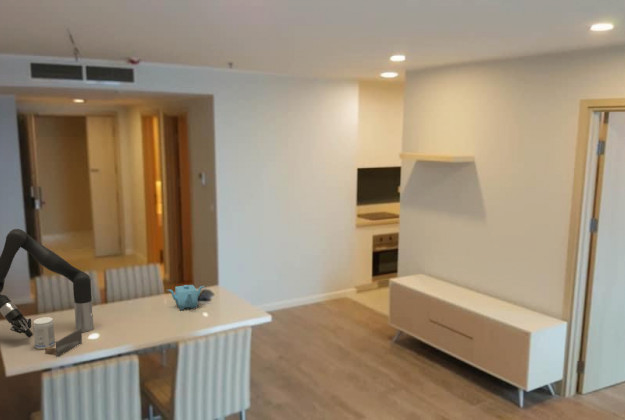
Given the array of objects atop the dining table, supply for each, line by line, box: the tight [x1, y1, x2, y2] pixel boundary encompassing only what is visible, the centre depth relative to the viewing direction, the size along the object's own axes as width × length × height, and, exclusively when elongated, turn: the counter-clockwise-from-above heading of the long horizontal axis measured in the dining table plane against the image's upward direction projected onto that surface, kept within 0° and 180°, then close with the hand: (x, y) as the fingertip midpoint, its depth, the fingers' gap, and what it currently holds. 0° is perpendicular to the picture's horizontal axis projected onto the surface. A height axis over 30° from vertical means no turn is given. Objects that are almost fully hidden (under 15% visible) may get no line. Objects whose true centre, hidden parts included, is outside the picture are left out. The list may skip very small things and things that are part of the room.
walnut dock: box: [44, 329, 83, 358], centre depth 274 cm, size 9×18×8 cm, turn 166°
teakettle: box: [166, 284, 205, 311], centre depth 342 cm, size 19×19×15 cm
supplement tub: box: [33, 316, 56, 350], centre depth 277 cm, size 10×10×15 cm
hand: (31, 336), depth 279 cm, fingers closed
